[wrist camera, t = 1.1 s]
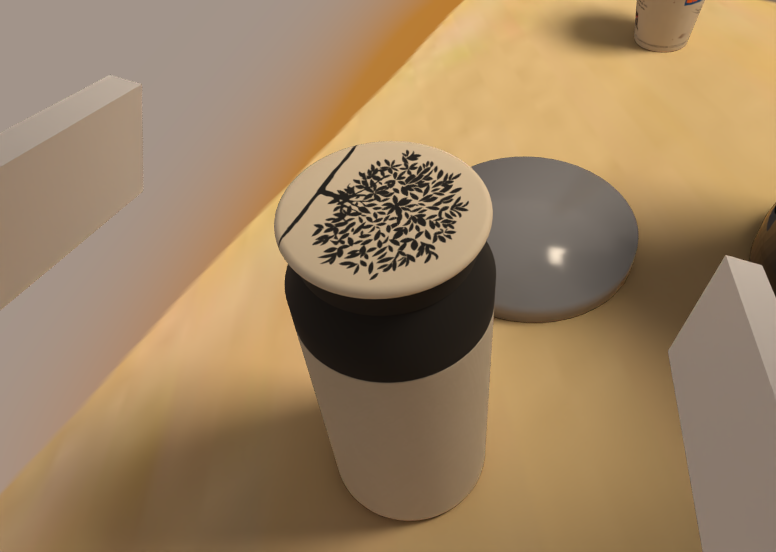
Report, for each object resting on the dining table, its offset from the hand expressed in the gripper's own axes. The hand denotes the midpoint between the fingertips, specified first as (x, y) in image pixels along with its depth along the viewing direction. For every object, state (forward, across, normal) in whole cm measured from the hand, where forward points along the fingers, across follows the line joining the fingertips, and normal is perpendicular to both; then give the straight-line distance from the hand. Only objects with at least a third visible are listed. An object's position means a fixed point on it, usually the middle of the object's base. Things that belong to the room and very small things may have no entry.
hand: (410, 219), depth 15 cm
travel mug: (+12, +2, -21) cm, 24 cm away
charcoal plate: (+28, +6, -15) cm, 32 cm away
